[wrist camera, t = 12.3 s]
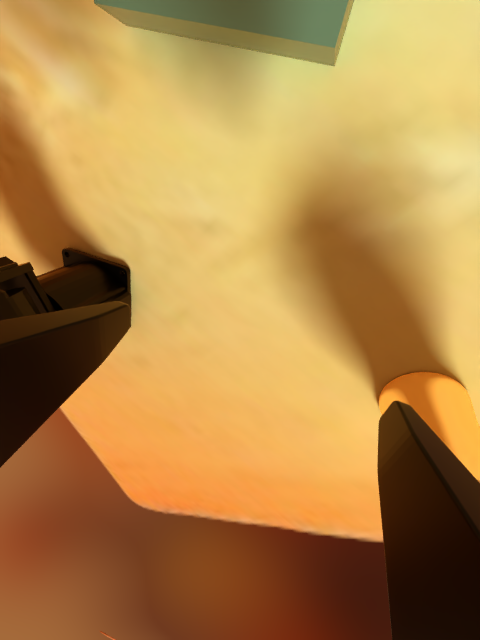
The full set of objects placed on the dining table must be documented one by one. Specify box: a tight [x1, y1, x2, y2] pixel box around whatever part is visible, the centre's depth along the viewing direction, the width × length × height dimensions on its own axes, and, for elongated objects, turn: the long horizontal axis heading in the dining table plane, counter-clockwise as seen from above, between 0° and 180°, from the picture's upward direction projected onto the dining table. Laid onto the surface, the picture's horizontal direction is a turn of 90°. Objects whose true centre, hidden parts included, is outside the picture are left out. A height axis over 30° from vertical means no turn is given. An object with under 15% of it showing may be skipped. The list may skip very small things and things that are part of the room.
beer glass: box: [379, 372, 480, 483], centre depth 15 cm, size 7×7×15 cm
